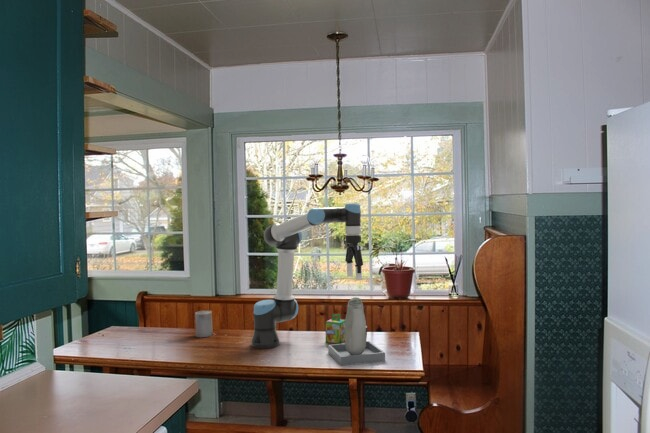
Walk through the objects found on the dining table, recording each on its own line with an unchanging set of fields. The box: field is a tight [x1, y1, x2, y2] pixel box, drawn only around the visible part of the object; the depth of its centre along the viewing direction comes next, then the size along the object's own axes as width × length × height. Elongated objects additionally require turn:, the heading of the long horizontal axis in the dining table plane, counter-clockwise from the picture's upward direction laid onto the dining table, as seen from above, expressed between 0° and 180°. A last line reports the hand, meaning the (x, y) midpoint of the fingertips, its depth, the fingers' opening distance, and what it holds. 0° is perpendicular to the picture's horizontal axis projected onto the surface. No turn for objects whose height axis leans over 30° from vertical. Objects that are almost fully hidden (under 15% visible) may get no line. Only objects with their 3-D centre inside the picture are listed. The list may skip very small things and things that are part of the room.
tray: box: [327, 340, 386, 366], centre depth 259 cm, size 22×22×4 cm
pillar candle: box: [194, 309, 214, 338], centre depth 308 cm, size 10×10×15 cm
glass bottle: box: [344, 297, 367, 355], centre depth 259 cm, size 10×10×28 cm
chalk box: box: [325, 313, 345, 344], centre depth 289 cm, size 9×9×15 cm
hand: (354, 278), depth 258 cm, fingers open, 13 cm apart
